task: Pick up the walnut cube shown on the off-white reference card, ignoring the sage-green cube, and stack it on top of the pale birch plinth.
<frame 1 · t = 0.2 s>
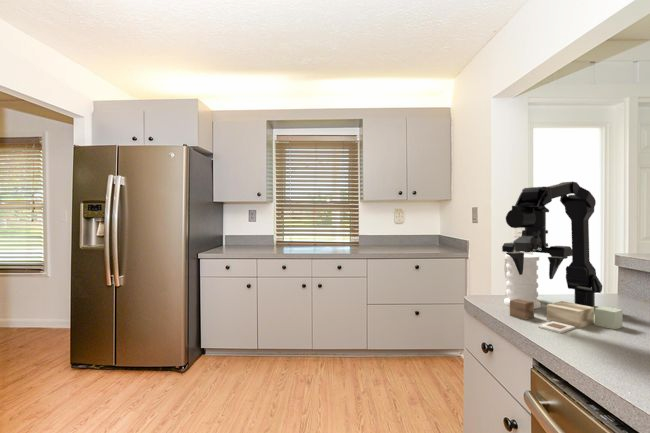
hand: (535, 276, 111), 13 cm above the worktop, fingers open, 9 cm apart
sage cube: (608, 325, 104), on the worktop
reference card: (556, 327, 103), on the worktop
decorative container: (522, 305, 129), on the worktop
birch plinth: (570, 322, 109), on the worktop
beer glass: (514, 296, 142), on the worktop
walnut cube: (521, 316, 115), on the worktop
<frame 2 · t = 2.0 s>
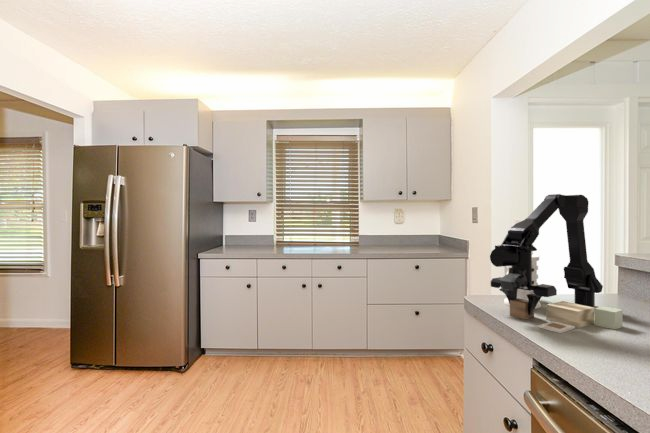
hand: (521, 312, 115), 1 cm above the worktop, fingers closed on walnut cube, 5 cm apart
walnut cube: (521, 316, 115), on the worktop, touching gripper
everything else where it was.
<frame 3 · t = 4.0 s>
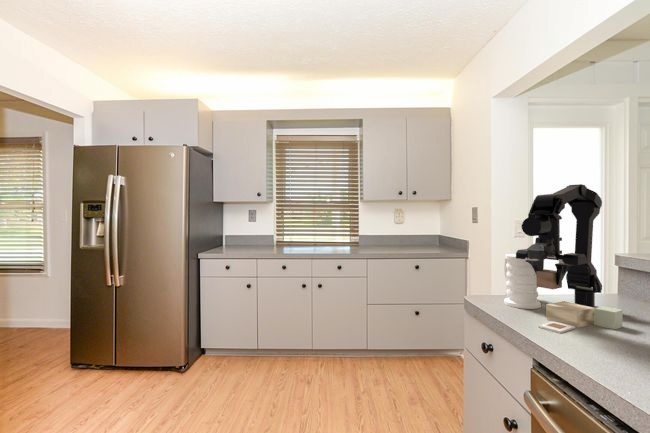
hand: (549, 283, 111), 11 cm above the worktop, fingers closed on walnut cube, 5 cm apart
walnut cube: (549, 287, 111), point 10 cm above the worktop, touching gripper
everything else where it was.
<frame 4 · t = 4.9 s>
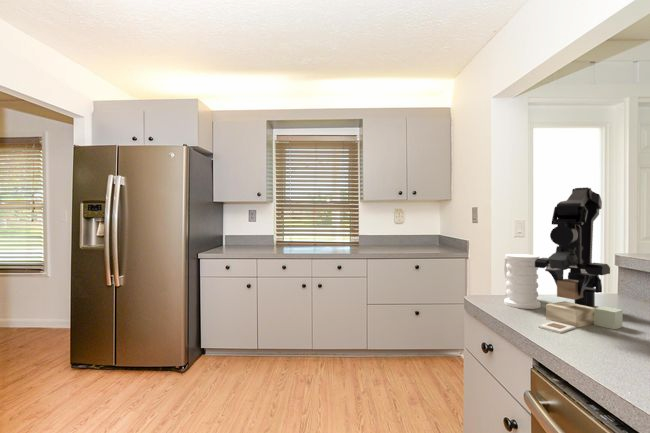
hand: (570, 293, 109), 9 cm above the worktop, fingers closed on walnut cube, 5 cm apart
walnut cube: (569, 297, 109), point 7 cm above the worktop, touching gripper
everything else where it was.
when the fingers open (7 cm above the worktop, at t = 5.9 s): walnut cube drops 1 cm, point 5 cm above the worktop.
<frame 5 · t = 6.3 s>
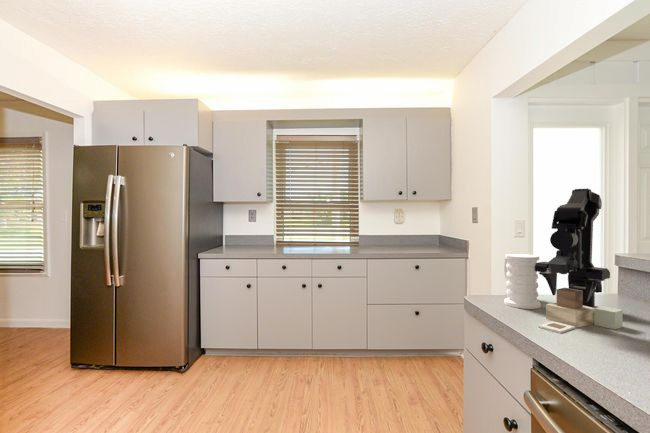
hand: (570, 298, 109), 7 cm above the worktop, fingers open, 9 cm apart
walnut cube: (569, 306, 109), point 5 cm above the worktop
everything else where it was.
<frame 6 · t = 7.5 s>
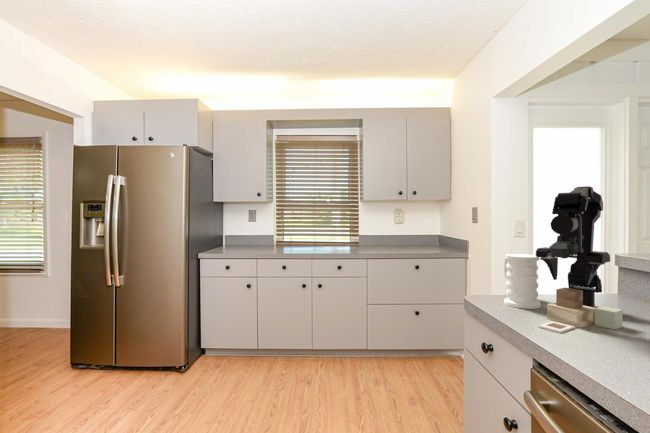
hand: (570, 282, 111), 12 cm above the worktop, fingers open, 9 cm apart
birch plinth: (571, 322, 109), on the worktop, touching walnut cube
walnut cube: (569, 306, 109), point 5 cm above the worktop, touching birch plinth
everything else where it was.
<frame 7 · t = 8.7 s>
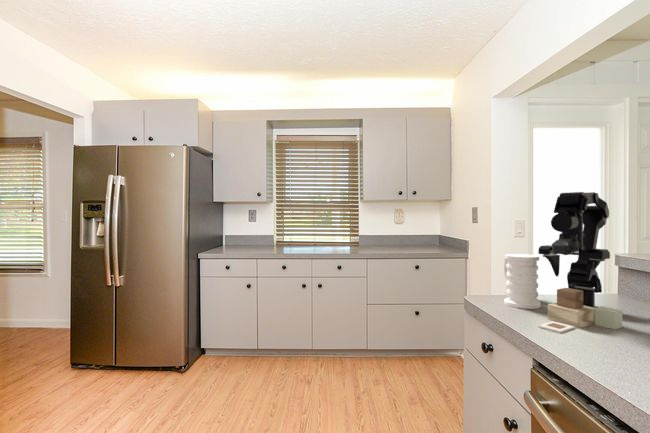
hand: (572, 278, 115), 12 cm above the worktop, fingers open, 9 cm apart
nothing on the worktop moved.
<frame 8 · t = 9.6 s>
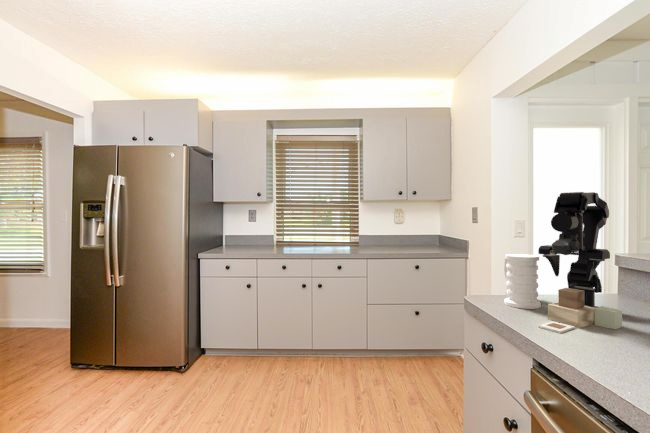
hand: (572, 278, 115), 12 cm above the worktop, fingers open, 9 cm apart
nothing on the worktop moved.
at the end: walnut cube 0.4 cm off-centre on the birch plinth, point 5.0 cm above the birch plinth's base; walnut cube tilted 0°; the gripper is holding nothing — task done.
